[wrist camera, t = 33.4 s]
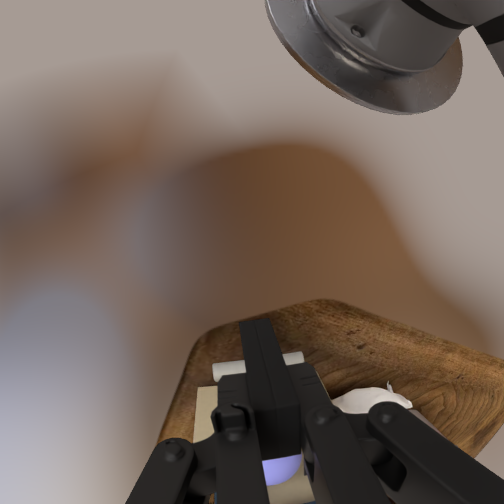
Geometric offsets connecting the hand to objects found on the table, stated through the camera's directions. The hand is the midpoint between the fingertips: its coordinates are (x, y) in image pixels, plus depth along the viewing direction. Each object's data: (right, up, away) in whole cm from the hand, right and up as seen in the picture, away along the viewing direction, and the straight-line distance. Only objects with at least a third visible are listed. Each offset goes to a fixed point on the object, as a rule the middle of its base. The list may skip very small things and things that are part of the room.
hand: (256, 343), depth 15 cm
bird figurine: (+12, -13, +17) cm, 25 cm away
